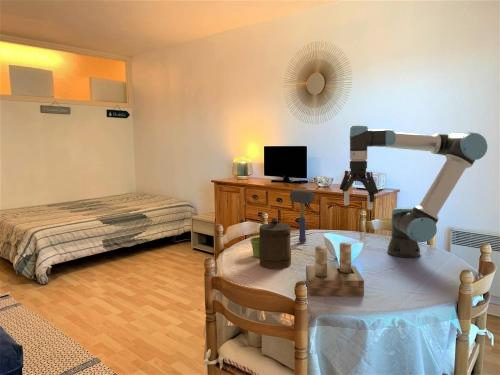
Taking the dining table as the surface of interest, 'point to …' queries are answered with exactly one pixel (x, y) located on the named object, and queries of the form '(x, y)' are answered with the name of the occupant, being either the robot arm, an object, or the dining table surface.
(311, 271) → the board
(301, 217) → the rubber mallet
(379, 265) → the dining table surface
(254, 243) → the plant pot
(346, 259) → the beech peg
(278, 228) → the wooden container
